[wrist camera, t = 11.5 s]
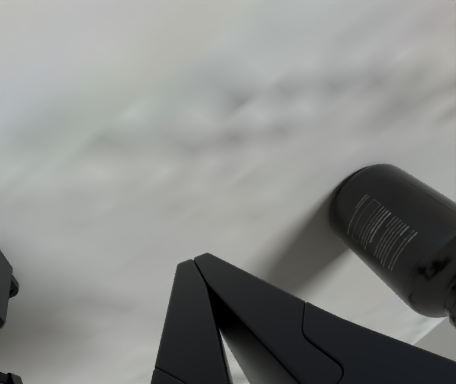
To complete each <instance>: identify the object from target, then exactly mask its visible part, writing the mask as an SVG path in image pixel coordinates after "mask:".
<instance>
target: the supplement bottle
mask: <svg viewBox="0 0 456 384" xmlns="http://www.w3.org/2000/svg"><path fill="white" fill-rule="evenodd" d="M330 220H331V226H332V228H333V230H334V232H335V234H336V235H337V236H338V237H339V238H340V239H341V240H342V241H343V242H344V243H345V244H346V245H347V246H348V247H349V248H350V249H351V250H352V251H353V252H354V253H355V254H356V255H357V256H358V257H359V258H360V259H361V260H362V261H363V262H364V263H365V264H366V265H367V266H368V267H369V268H370V269H371V270H372V271H373V272H374V273H375V274H376V275H377V276H378V277H379V278H380V279H381V280H382V281H383V282H384V283H385V284H386V285H387V286H388V287H390V288H391V289H392V290H393V291H394V292H395V293H396V294H397V295H398V296H399V297H400V298H401V299H402V300H403V301H404V302H405V303H406V304H407V305H408V306H409V307H410V308H411V309H412V310H414V311H415V312H417V313H419V314H421V315H424V316H427V317H433V318H441V317H447V316H449V321H450V323H451V325H452V326H454V327H455V328H456V202H454V201H452V200H451V199H449V198H447V197H446V196H444V195H443V194H441V193H439V192H438V191H436V190H434V189H433V188H431V187H430V186H428V185H426V184H425V183H423V182H421V181H420V180H418V179H417V178H415V177H413V176H412V175H410V174H408V173H407V172H405V171H403V170H402V169H400V168H398V167H396V166H394V165H390V164H377V165H373V166H369V167H367V168H365V169H363V170H361V171H359V172H358V173H356V174H355V175H354V176H352V177H351V178H350V179H349V180H348V181H347V182H346V183H345V184H344V185H343V186H342V188H341V189H340V191H339V192H338V194H337V195H336V197H335V200H334V202H333V205H332V208H331V215H330Z"/></svg>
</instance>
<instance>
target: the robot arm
mask: <svg viewBox="0 0 456 384" xmlns="http://www.w3.org/2000/svg"><path fill="white" fill-rule="evenodd" d="M12 270H13V268H12V266H11V265H10V264H9V262H8V261H7V259H6V258H5V256H4V255H3V254H2V252H1V251H0V329H1V328H3V326H4V324H5V322H6V315H7V307H8V300H9V298H11V297H14V296H15V295H17V293H18V291H19V284H18V282H17V281H16V279H15V278H14V276H13V275H12ZM10 288H12V289H10ZM220 332H221V334H222V336H223V338H224V340H225V342H226V343H227V345H228V347H229V348H230V350H231V352H232V354H233V355H234V357H235V359H236V360H237V362H238V364H239V366H240V367H241V369H242V371H243V372H244V374H245V376H246V377H247V379H248V381H249V383H250V384H456V362H455V361H452V360H450V359H447V358H445V357H442V356H439V355H437V354H434V353H431V352H429V351H426V350H423V349H421V348H418V347H415V346H413V345H410V344H407V343H405V342H402V341H399V340H397V339H394V338H391V337H389V336H386V335H383V334H381V333H378V332H375V331H373V330H370V329H367V328H365V327H362V326H360V325H357V324H355V323H352V322H350V321H347V320H345V319H342V318H340V317H338V316H336V315H333V314H331V313H329V312H327V311H325V310H323V309H321V308H319V307H317V306H315V305H313V304H311V303H309V302H306V303H305V301H303V300H301V299H299V298H297V297H295V296H294V295H292V294H290V293H288V292H286V291H284V290H282V289H280V288H278V287H276V286H274V285H272V284H270V283H268V282H266V281H264V280H262V279H260V278H258V277H256V276H254V275H252V274H250V273H248V272H246V271H244V270H242V269H240V268H238V267H236V266H234V265H232V264H230V263H228V262H226V261H224V260H222V259H220V258H218V257H216V256H214V255H212V254H210V253H205V254H202V255H200V256H197V257H195V258H194V260H192V259H189V260H187V261H184V262H182V263H179V264H178V265H177V269H176V273H175V278H174V282H173V287H172V291H171V296H170V300H169V305H168V309H167V314H166V318H165V323H164V327H163V332H162V337H161V341H160V346H159V350H158V355H157V359H156V364H155V369H154V371H153V375H152V380H151V384H233V380H232V376H231V372H230V368H229V364H228V360H227V356H226V353H225V349H224V345H223V341H222V337H221V334H220ZM0 384H23V383H22V380H21V377H20V376H17V375H15V374H12V373H8V374H5V373H2V372H0Z"/></svg>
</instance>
